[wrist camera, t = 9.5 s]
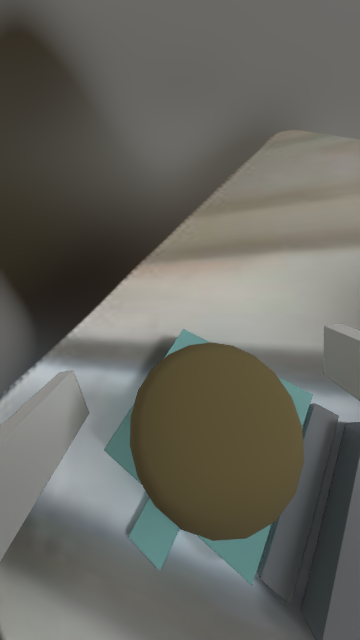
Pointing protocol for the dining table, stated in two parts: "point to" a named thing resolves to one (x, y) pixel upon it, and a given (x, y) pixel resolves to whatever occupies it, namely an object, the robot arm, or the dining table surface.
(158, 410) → the cork
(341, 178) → the dining table surface
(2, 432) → the robot arm
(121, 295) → the dining table surface
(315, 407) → the panel
